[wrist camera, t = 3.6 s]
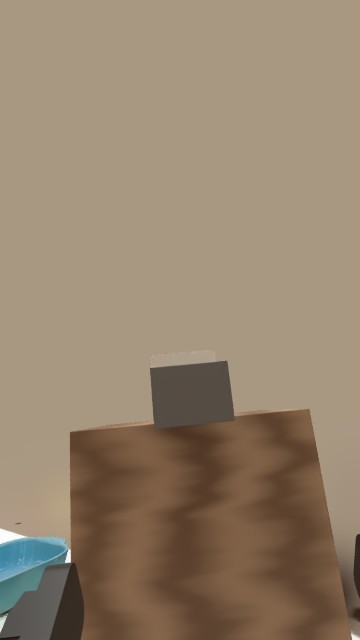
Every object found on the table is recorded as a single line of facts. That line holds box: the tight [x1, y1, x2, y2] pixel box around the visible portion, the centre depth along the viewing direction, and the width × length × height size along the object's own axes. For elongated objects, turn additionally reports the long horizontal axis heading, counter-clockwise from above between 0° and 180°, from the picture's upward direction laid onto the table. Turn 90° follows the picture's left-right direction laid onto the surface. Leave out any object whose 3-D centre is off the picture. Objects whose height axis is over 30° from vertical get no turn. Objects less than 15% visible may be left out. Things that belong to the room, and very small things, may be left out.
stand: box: [70, 409, 352, 640], centre depth 28 cm, size 18×14×32 cm
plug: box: [150, 350, 235, 429], centre depth 27 cm, size 6×19×6 cm, turn 0°
